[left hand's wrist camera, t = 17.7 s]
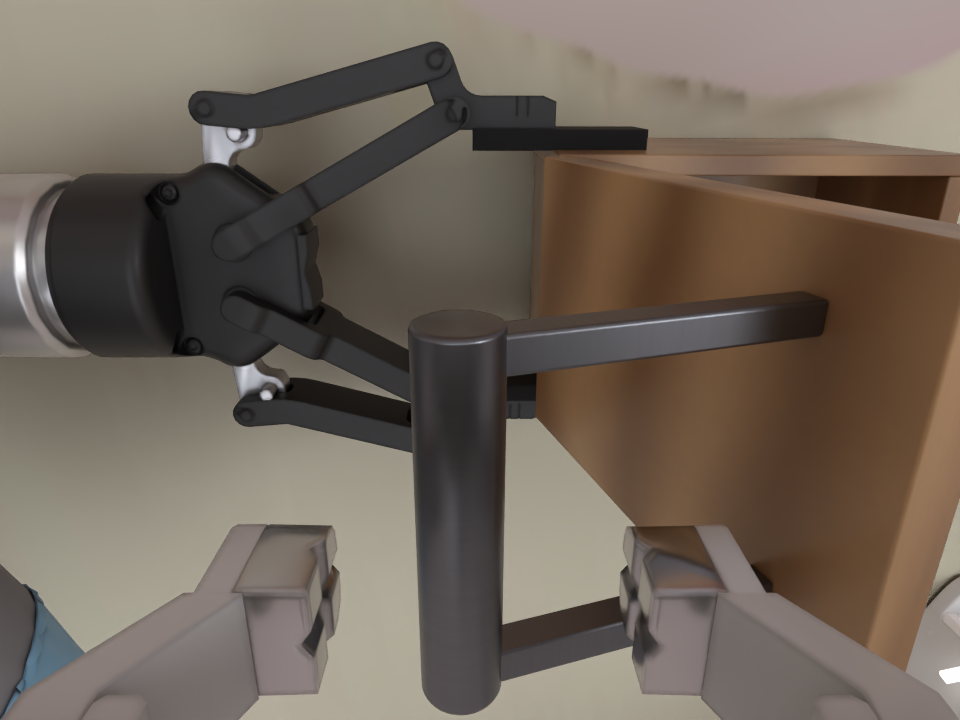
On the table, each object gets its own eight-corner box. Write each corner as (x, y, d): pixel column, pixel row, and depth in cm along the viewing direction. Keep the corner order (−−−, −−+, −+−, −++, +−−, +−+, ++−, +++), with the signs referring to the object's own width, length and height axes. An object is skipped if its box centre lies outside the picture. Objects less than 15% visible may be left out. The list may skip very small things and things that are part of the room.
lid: (1043, 238, 9) (459, 288, 7) (889, 731, 13) (464, 883, 10) (577, 155, 23) (316, 162, 20) (563, 412, 26) (340, 445, 24)
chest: (833, 138, 32) (975, 155, 23) (798, 327, 36) (909, 406, 27) (535, 137, 32) (558, 154, 23) (529, 326, 36) (547, 406, 27)
